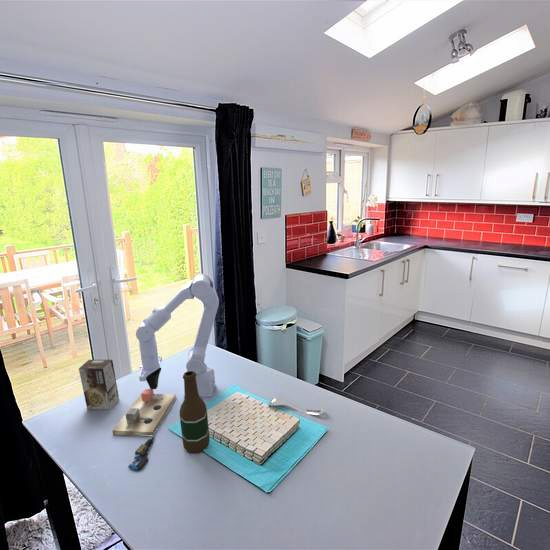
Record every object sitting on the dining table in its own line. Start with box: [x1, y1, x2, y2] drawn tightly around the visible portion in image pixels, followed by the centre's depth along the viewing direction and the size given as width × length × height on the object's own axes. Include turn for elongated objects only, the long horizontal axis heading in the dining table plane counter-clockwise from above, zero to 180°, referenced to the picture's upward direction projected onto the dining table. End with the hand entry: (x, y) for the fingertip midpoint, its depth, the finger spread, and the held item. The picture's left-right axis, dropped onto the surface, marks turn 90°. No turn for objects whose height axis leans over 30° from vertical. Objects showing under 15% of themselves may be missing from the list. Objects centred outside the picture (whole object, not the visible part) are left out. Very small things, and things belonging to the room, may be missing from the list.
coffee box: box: [78, 359, 120, 410], centre depth 127 cm, size 9×6×16 cm
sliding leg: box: [140, 388, 163, 402], centre depth 127 cm, size 7×3×3 cm, turn 84°
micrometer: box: [127, 436, 155, 472], centre depth 104 cm, size 12×2×5 cm
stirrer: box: [268, 396, 326, 416], centre depth 122 cm, size 20×4×5 cm
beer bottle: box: [179, 371, 210, 455], centre depth 104 cm, size 8×8×24 cm
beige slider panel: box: [112, 393, 177, 436], centre depth 121 cm, size 13×20×5 cm, turn 174°
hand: (153, 388), depth 132 cm, fingers closed
